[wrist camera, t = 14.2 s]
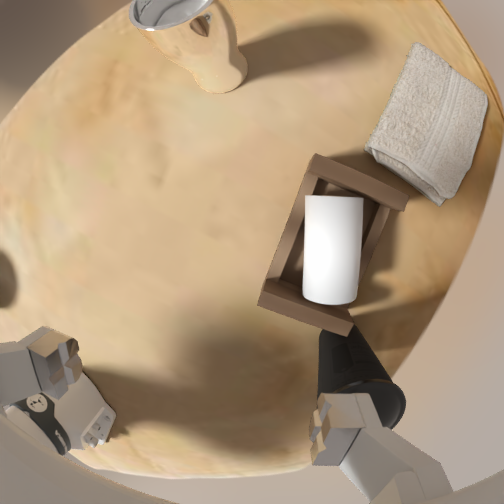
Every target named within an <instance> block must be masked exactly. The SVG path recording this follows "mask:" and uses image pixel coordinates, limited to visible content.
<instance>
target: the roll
mask: <svg viewBox="0 0 504 504" xmlns="http://www.w3.org/2000/svg"><path fill="white" fill-rule="evenodd" d="M362 226H363V198H359V197H347V196H328V195H322V196H315V195H305V237H304V267H303V288H302V295H303V296H304V297H305V298H306V299H308V300H310V301H313V302H316V303H321V304H329V305H339V304H346V303H350V302H352V301H354V300H355V299H356V297H357V289H358V280H359V269H360V258H361V244H362Z"/></svg>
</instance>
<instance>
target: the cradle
mask: <svg viewBox="0 0 504 504" xmlns="http://www.w3.org/2000/svg"><path fill="white" fill-rule="evenodd" d="M305 195H315V196H322V195H328V196H347V197H359V198H363V226H362V244H361V258H360V269H359V280H358V286H359V283H360V281H361V279H362V277H363V275H364V272H365V270H366V268H367V266H368V263H369V261H370V259H371V257H372V254H373V252H374V249H375V247H376V245H377V242H378V240H379V237H380V235H381V232H382V230H383V227H384V225H385V222H386V219H387V217H388V214H389V211H390V209H393V210H398V211H403V212H404V210H405V207H406V204H407V202H408V199H409V195H407V194H405V193H403V192H401V191H399V190H397V189H395V188H393V187H391V186H389V185H387V184H385V183H383V182H381V181H379V180H377V179H375V178H372V177H370V176H368V175H366V174H364V173H362V172H359V171H357V170H355V169H353V168H350V167H348V166H346V165H343V164H341V163H339V162H336V161H334V160H331V159H329V158H326V157H324V156H321V155H319V154H316V153H315V154H314V156H313V157H312V159H311V160H310V162H309V165H308V167H307V170H306V173H305V176H304V178H303V181H302V184H301V186H300V189H299V192H298V195H297V197H296V200H295V203H294V205H293V208H292V211H291V213H290V216H289V219H288V221H287V224H286V226H285V229H284V232H283V234H282V237H281V240H280V242H279V245H278V247H277V250H276V253H275V255H274V258H273V260H272V263H271V265H270V268H269V270H268V273H267V276H266V278H265V281H264V283H263V286H262V290H261V293H260V297H259V300H258V304H257V306H260V307H263V308H265V309H268V310H271V311H274V312H276V313H279V314H282V315H285V316H287V317H290V318H293V319H296V320H299V321H301V322H304V323H307V324H310V325H313V326H316V327H319V328H322V329H325V330H327V331H330V332H333V333H336V334H339V335H342V336H346V337H347V336H348V334H349V332H350V330H351V328H352V327H353V325H354V322H353V320H352V318H351V316H350V313H349V311H348V309H347V308H348V306H349V304H350V303H346V304H339V305H329V304H321V303H316V302H313V301H310V300H308V299H306V298H305V297H304V296H303V295H302V288H303V267H304V237H305Z"/></svg>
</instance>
